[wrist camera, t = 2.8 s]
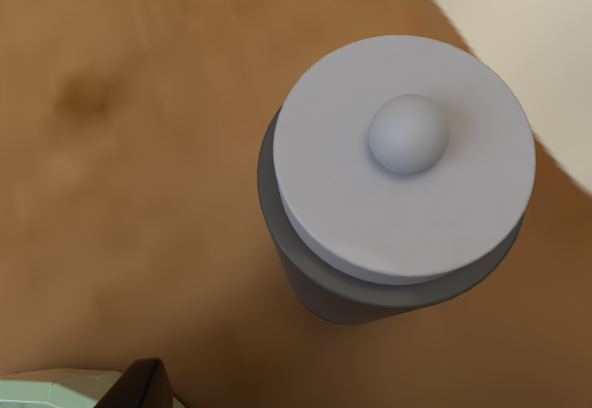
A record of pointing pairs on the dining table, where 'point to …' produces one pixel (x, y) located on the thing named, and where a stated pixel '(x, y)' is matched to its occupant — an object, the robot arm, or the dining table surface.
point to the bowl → (58, 388)
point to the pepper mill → (394, 177)
